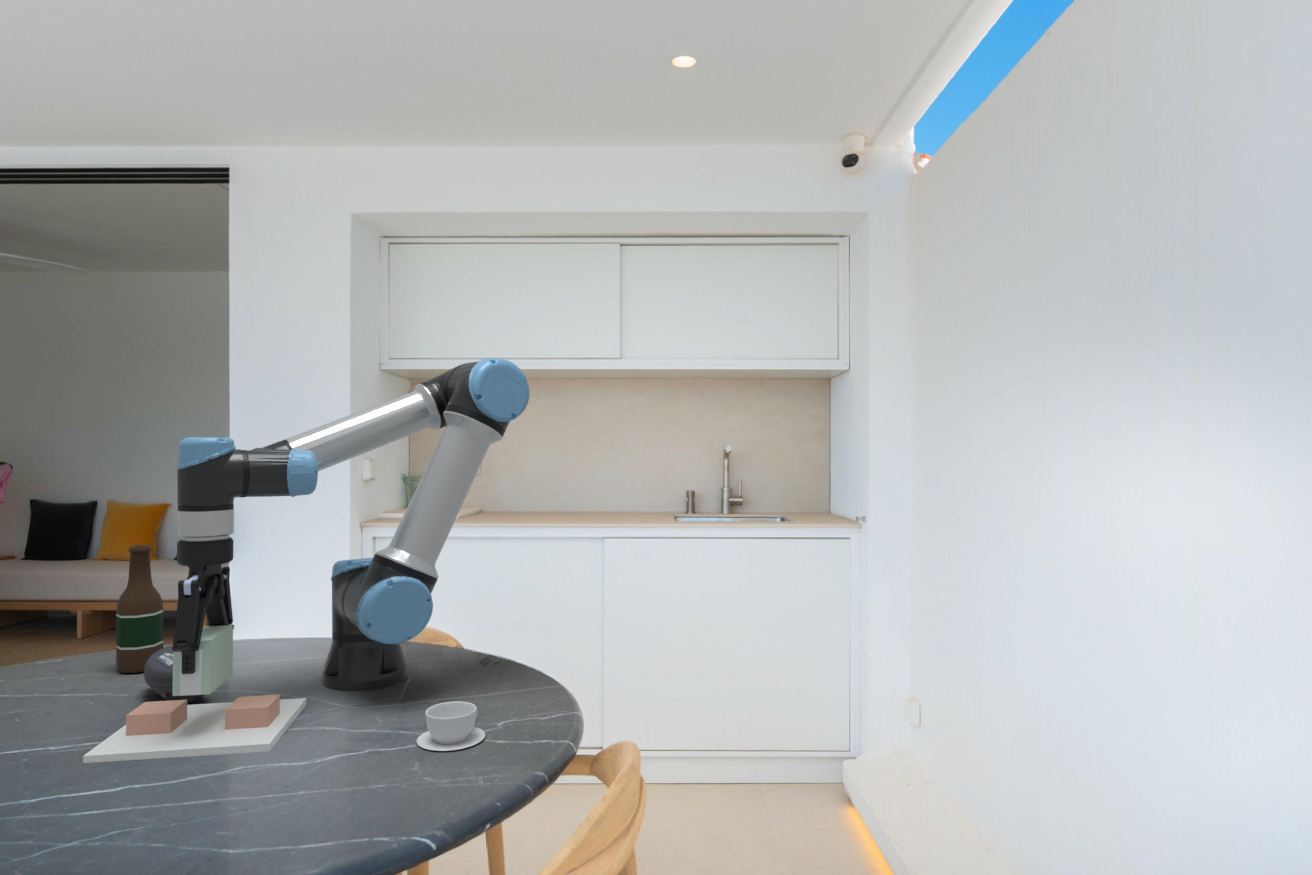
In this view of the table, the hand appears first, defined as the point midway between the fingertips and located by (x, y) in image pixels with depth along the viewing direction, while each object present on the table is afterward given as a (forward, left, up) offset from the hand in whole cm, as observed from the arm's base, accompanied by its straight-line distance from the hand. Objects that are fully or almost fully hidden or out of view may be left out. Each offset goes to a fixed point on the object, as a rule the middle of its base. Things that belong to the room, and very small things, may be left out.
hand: (204, 683), depth 119 cm
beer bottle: (+26, -39, -8) cm, 47 cm away
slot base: (0, 0, -7) cm, 7 cm away
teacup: (-37, +10, -8) cm, 39 cm away
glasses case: (+10, -19, -8) cm, 23 cm away
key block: (0, 0, 0) cm, 0 cm away
